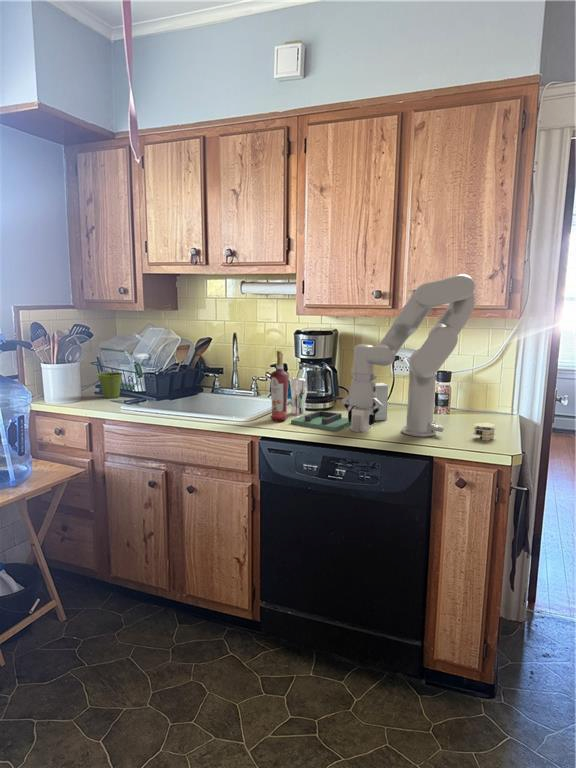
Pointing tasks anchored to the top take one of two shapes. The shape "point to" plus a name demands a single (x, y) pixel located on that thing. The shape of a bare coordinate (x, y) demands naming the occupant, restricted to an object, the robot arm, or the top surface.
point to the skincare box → (382, 401)
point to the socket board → (322, 420)
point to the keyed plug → (360, 419)
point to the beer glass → (298, 395)
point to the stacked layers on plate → (485, 430)
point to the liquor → (279, 390)
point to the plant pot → (110, 383)
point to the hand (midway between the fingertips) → (361, 422)
